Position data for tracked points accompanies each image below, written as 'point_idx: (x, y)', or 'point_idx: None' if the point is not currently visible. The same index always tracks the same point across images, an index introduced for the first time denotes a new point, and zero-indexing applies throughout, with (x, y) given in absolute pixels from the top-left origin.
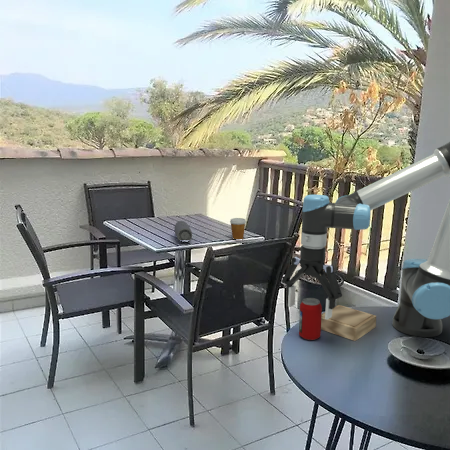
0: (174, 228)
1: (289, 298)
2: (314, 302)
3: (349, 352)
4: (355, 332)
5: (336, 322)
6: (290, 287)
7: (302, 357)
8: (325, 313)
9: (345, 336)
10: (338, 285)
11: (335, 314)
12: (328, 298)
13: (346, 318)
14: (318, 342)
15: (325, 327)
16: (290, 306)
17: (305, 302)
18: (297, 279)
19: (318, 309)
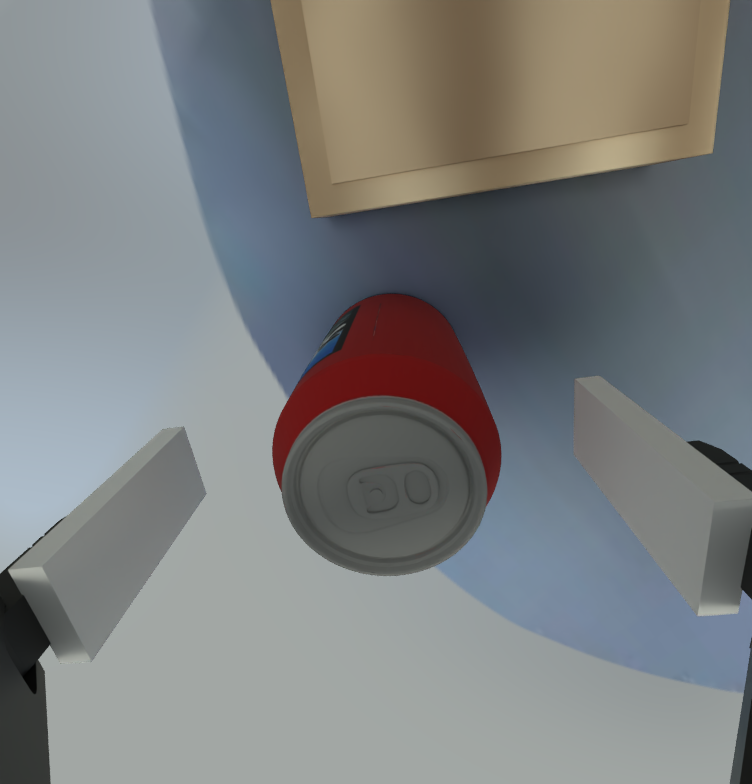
0: None
1: (159, 550)
2: (434, 493)
3: (687, 335)
4: (689, 157)
5: (506, 179)
6: (75, 655)
7: (518, 546)
8: (598, 483)
9: (572, 177)
10: None
11: (397, 25)
12: (722, 591)
13: (536, 15)
14: (476, 374)
15: (402, 204)
16: (202, 488)
17: (364, 551)
18: (10, 740)
19: (497, 474)
